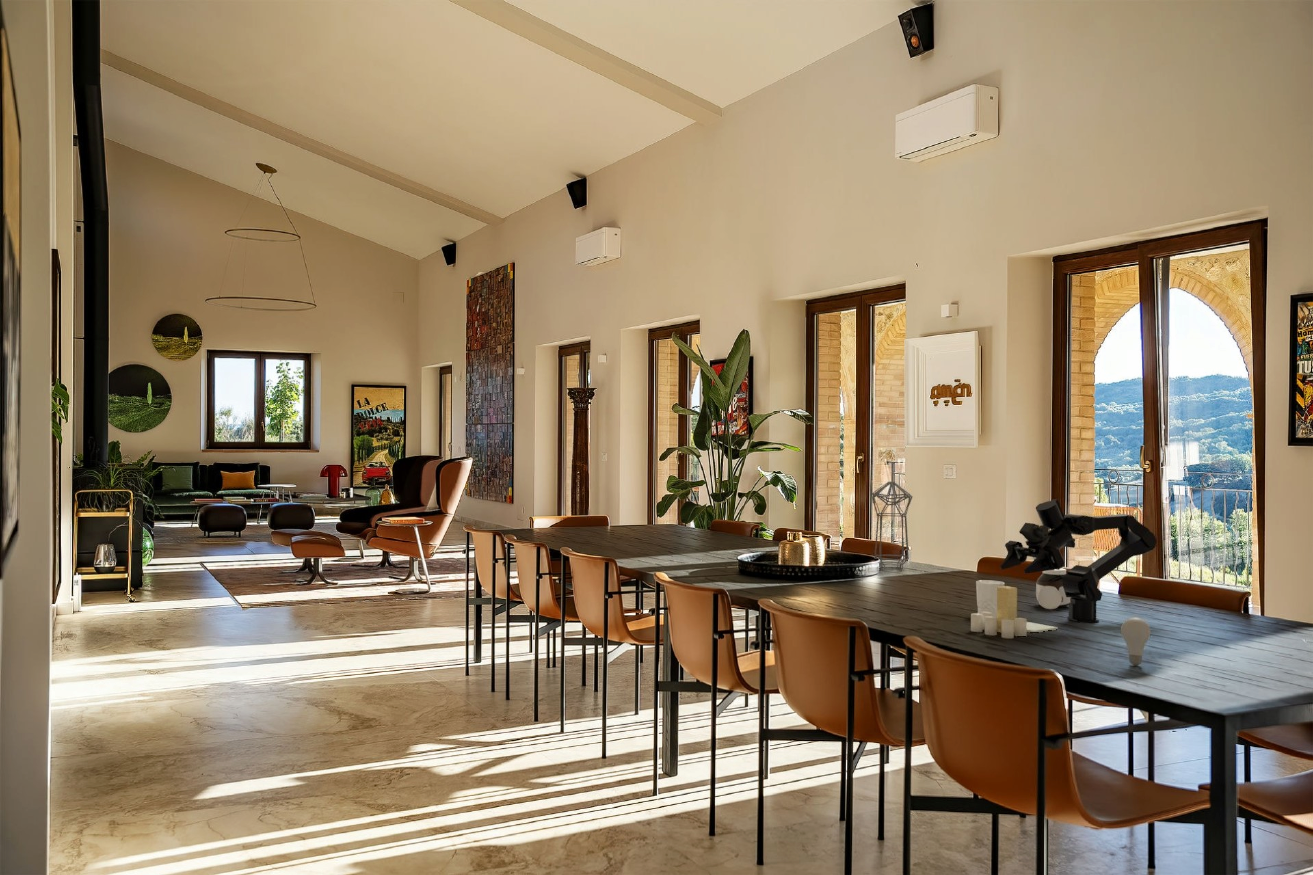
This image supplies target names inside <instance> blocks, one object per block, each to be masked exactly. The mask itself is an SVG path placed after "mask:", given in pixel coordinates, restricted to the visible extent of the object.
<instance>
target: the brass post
mask: <svg viewBox="0 0 1313 875" xmlns="http://www.w3.org/2000/svg"><path fill="white" fill-rule="evenodd" d="M1014 618H1018V588H1017V587H1014V586H1008V585H1004V586H1001V587H997V632H998V633H1002V619H1011V620H1014Z"/></svg>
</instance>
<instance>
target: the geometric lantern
mask: <svg viewBox="0 0 1313 875" xmlns="http://www.w3.org/2000/svg"><path fill="white" fill-rule="evenodd" d="M888 486H889V488H888V491H887V493H886V494H884V493H883V494H882V492H883V491H884V490H885V489H886V488H887V487H888ZM895 487H897V489H898V490H900V491H901V492H902V493H899V494H898V493H897V491H896V488H895ZM891 492H892V493H891ZM870 495H871V496H872V497H871V499H872V503H873V506H874V510H875V513H876V519H877V520H876V530H875V531H876V534H875V548H874V560H875V559H879V561H880V563H879V567H880V568H879V569H880V570H881V571H882V570H883V571H889V570H890V571H903V570H904V565H905V563H906V562H907V561H909V560H910V559H909V558H910V557H909V555H910V554H909V539H908V538H909V537H908V521H907V515H908V511H909V506H910V505H911V502H912V499H913V495H911V493H910V492H908V491H907V490H905V489H904V488H903V487H902V486H900V485H899V484H898V483H896V481H893V480H892V481H887V482H885V483H884V484H883V485H882V486H880V487H879V488H876V490H875V491H872V493H870ZM890 496H891V497H890ZM876 498H877V499H879V500H880V501H882V502H883V503H884V506H883V509H882V510H881V512H880V509H879V505H878V503H877V502H876ZM906 499H908V501H907V504H906V508H905V511H903V510H902V508H901V507H900V505H899V503H901V502H903V501H905V500H906ZM890 500H892V501H890ZM889 506H895V508H896V510H897V511H898V512H885V511H886V510H887V508H889ZM897 515H898V517H900V519H901V522H900V523H901V554H882V532H883V517H897ZM904 528H905V529H904ZM904 530H905V538H904ZM878 531H879V532H878ZM878 534H879V550H878V554H877V548H878V547H877V546H878ZM904 539H905V541H904ZM904 542H905V544H904ZM905 546H906V547H905ZM905 548H906V555H905ZM883 557H900V558H883ZM885 560H887V561H885ZM893 563H894V564H893ZM895 563H896V564H895Z"/></svg>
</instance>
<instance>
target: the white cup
mask: <svg viewBox="0 0 1313 875" xmlns="http://www.w3.org/2000/svg"><path fill="white" fill-rule="evenodd" d="M975 586H976V587H975V588H976V605H977V613H978V614H981V612H992V617H997V587H1001V586H1005V582H1004V581H1000V580H991V579H989V580H987V579H986V580H985V579H983V580H982V579H980V580H976V581H975Z"/></svg>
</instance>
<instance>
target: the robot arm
mask: <svg viewBox="0 0 1313 875" xmlns="http://www.w3.org/2000/svg"><path fill="white" fill-rule="evenodd" d="M1035 511H1036V512H1037V515H1038V518H1039V519H1040V522H1041V524H1042V525H1041V524H1040V525H1039V524H1036V523H1031V522H1025V523H1023V525H1022V527H1021V528H1020V529H1019V532H1018V533H1019V534H1020V535H1022V536H1023V537H1024V539H1025V540H1026V541H1025V545H1026V546H1027V547H1026V546H1024V545H1023V543H1022V542H1020V541H1015V540H1009V541H1008V542H1006V543H1005V545H1004V547H1005V548H1006V551H1007V554H1006V556H1005V558H1004V559H1003V561H1002V563H1001V564H1000V569H1001V570H1006V569H1009V568H1013V567H1017V566H1020V565H1022V563H1024V562H1026V561H1027V558H1028V557H1031V558H1032V559H1033V561H1031V562H1030V563H1029V564H1028V565H1026V567H1025V568H1024V569H1023V572H1024V574H1026V575H1027V574H1032V573H1039V572H1043V571H1048V570H1055V569H1057V570H1059V569H1061V568H1063V567H1064V565H1065V560H1064V557H1063V554H1062V553H1061V549H1062V548H1064V547H1065V548H1070V549H1071V548H1074V549H1075V547H1076V538H1075V537H1074V538H1073V535H1075V536H1082V537H1083V536H1087V535H1090V534H1093V533H1094V532H1096V531H1101V530H1113V529H1114V530H1115V529H1117V532H1118V536H1119V537H1120V541H1119V544H1118V545H1116V546H1115V547H1113V548H1112V549H1110V550H1109V551H1108V552H1106V553H1105V554H1103V555H1102V556H1101V557H1099V558H1098V559H1097V560H1094V561H1093V562H1092V563H1091V564H1089V565H1088V566H1085V565H1078V564H1076V565H1074V566H1073V567H1071V569H1069V570H1066V574H1065V575H1064V577H1063V581H1062V585H1063V588H1064V591H1065V595H1066V597H1070V603H1069V605H1068V616H1067V617H1066V618H1067V619H1069V620H1071V621H1074V622H1077V623H1099V622H1100V620H1099V619H1097V602H1098V601H1100V602H1101V600H1102V596H1103V593H1102V591H1101V590H1100V589H1099V587H1098V586H1099V583H1100V580H1101V579H1103V578H1104V577H1105V576H1107V575H1109V574H1110V573H1111V572H1112V571H1114V570H1115V569H1117V568H1118V567H1119V566H1121V565H1122V564H1124V563H1126V562H1127V561H1128V560H1130V559H1131V558H1133V557H1136V556H1140V555H1145V554H1147V553H1150V552H1152V551H1153V550H1154V549H1155V548H1156V546H1157V545H1156V544H1157V543H1158V542H1157V538H1156V535H1155V534H1154V533H1153V532H1152V531H1150V529H1149V528H1148V527H1147V526H1145V525H1144V524H1142V523H1141V522H1140V521H1139V520H1137V519H1136V517H1135V516H1134V515H1131V514H1127V513H1125V514H1124V513H1118V514H1109V515H1097V516H1095V515H1093V516H1090V515H1084V514H1083V515H1082V514H1073V513H1067V514H1064V512H1063V510H1062V507H1061V504H1060V500H1059V499H1053V498H1052V499H1051V500H1048V501H1045V502H1041V503H1038V504H1037V505H1036V506H1035Z"/></svg>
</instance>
